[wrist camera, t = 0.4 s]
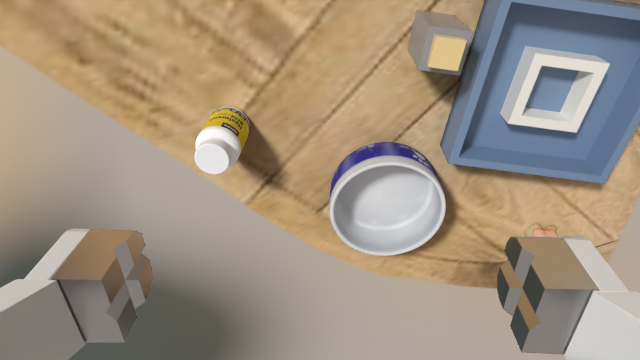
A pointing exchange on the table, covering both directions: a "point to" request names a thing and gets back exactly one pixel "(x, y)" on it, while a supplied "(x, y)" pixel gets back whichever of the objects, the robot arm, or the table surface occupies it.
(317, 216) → the table surface
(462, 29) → the connector plug
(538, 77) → the walled tray
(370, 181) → the dog bowl
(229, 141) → the supplement bottle
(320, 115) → the table surface
